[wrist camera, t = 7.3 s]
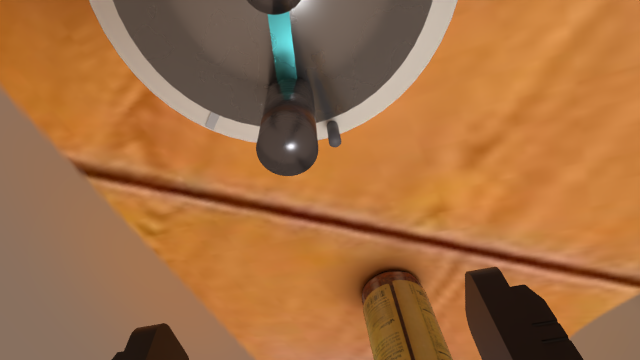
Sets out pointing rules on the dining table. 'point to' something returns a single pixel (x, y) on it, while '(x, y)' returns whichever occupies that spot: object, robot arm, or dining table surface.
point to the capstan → (276, 60)
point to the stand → (328, 129)
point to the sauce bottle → (401, 319)
